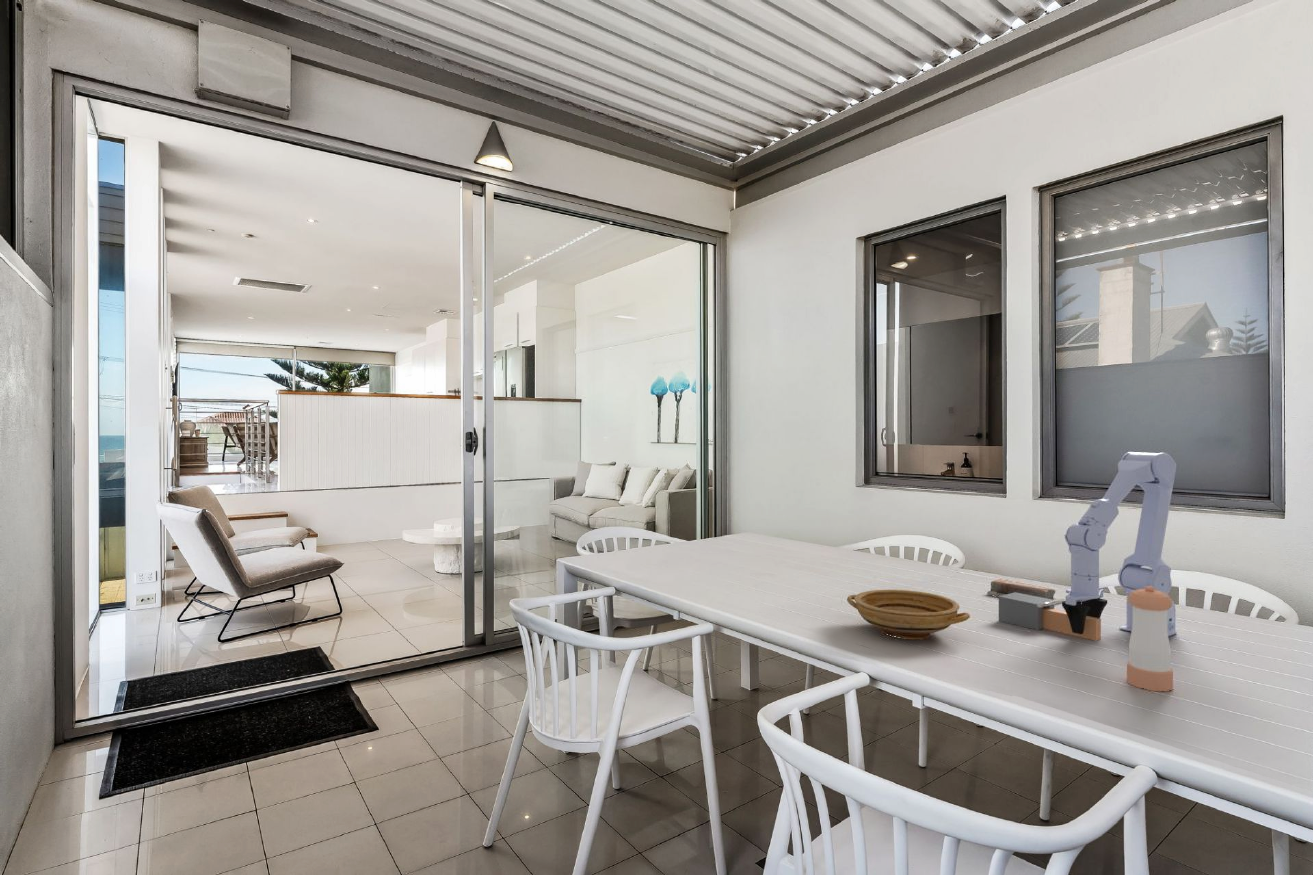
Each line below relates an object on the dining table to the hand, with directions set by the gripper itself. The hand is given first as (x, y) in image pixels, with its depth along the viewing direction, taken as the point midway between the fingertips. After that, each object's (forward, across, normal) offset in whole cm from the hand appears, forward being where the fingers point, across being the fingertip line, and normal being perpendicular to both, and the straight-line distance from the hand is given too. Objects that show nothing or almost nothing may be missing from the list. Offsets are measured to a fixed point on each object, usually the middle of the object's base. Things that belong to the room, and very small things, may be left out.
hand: (1084, 630), depth 163 cm
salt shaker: (+2, +23, +22) cm, 32 cm away
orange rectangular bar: (+2, 0, -5) cm, 5 cm away
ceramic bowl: (+2, +33, -26) cm, 42 cm away
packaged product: (+2, -25, -28) cm, 38 cm away
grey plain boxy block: (+1, 0, -14) cm, 14 cm away
